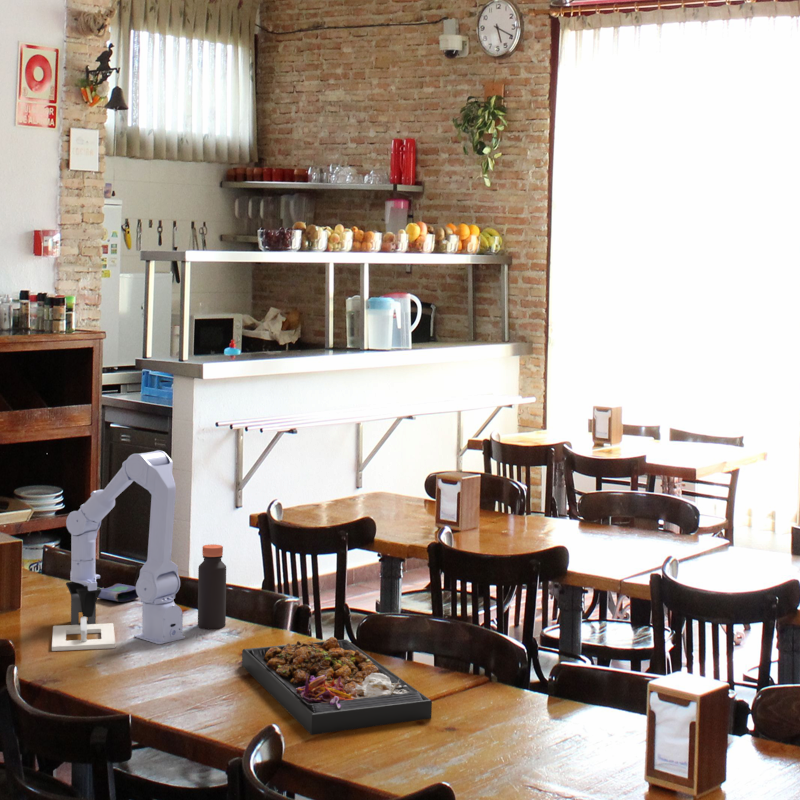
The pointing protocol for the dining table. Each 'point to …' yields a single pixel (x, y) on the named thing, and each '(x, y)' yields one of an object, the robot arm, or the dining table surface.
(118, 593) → the blue flat box
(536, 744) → the dining table surface
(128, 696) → the dining table surface
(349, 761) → the dining table surface
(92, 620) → the notched grey block
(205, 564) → the bottle
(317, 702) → the food platter
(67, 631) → the cream frame with handle
